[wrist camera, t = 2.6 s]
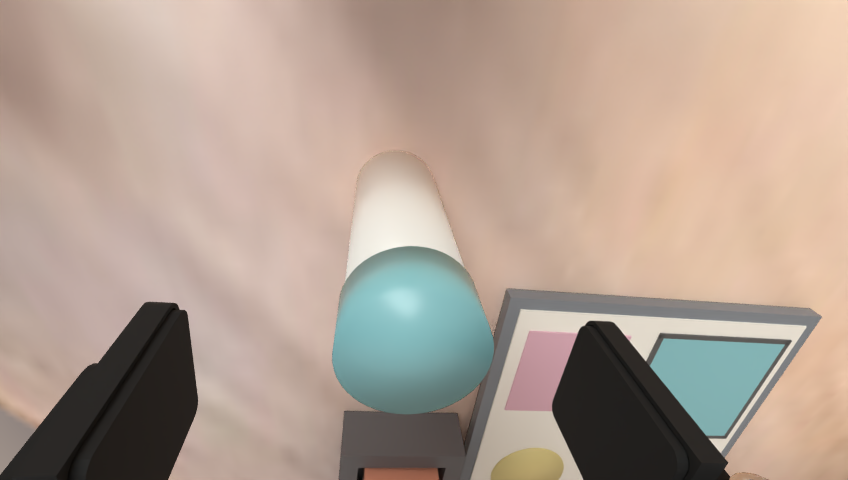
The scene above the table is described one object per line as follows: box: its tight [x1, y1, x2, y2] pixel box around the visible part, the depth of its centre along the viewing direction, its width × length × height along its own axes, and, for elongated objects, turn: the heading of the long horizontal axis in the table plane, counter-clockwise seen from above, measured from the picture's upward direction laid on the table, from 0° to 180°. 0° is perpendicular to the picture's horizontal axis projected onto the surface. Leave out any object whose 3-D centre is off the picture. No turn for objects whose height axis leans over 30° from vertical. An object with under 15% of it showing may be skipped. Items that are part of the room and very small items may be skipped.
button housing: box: [339, 411, 466, 480], centre depth 27 cm, size 7×7×3 cm
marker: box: [332, 150, 494, 414], centre depth 15 cm, size 4×4×11 cm
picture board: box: [460, 289, 822, 480], centre depth 28 cm, size 19×18×1 cm
